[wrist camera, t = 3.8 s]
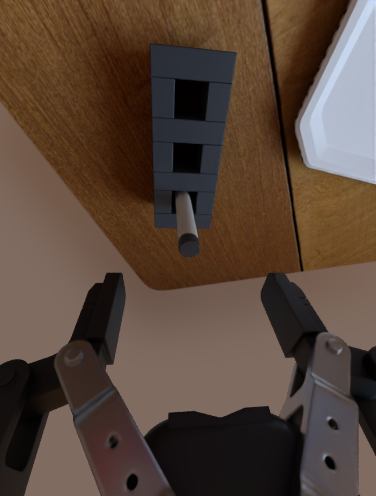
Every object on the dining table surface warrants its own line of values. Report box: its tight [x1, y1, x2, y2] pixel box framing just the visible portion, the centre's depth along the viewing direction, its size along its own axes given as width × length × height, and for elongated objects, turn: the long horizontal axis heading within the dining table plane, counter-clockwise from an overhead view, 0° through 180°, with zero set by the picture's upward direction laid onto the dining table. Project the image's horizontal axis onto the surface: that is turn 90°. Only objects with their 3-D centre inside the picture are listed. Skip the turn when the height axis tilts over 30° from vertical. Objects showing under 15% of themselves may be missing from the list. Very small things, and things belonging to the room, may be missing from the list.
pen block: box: [150, 44, 237, 229], centre depth 19 cm, size 13×6×5 cm, turn 176°
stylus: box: [175, 191, 200, 257], centre depth 19 cm, size 1×1×12 cm
